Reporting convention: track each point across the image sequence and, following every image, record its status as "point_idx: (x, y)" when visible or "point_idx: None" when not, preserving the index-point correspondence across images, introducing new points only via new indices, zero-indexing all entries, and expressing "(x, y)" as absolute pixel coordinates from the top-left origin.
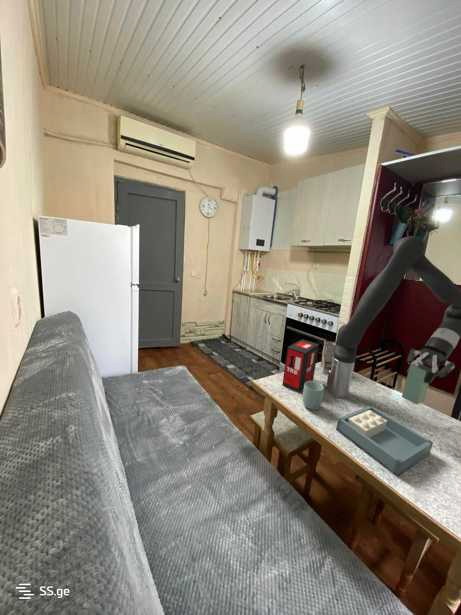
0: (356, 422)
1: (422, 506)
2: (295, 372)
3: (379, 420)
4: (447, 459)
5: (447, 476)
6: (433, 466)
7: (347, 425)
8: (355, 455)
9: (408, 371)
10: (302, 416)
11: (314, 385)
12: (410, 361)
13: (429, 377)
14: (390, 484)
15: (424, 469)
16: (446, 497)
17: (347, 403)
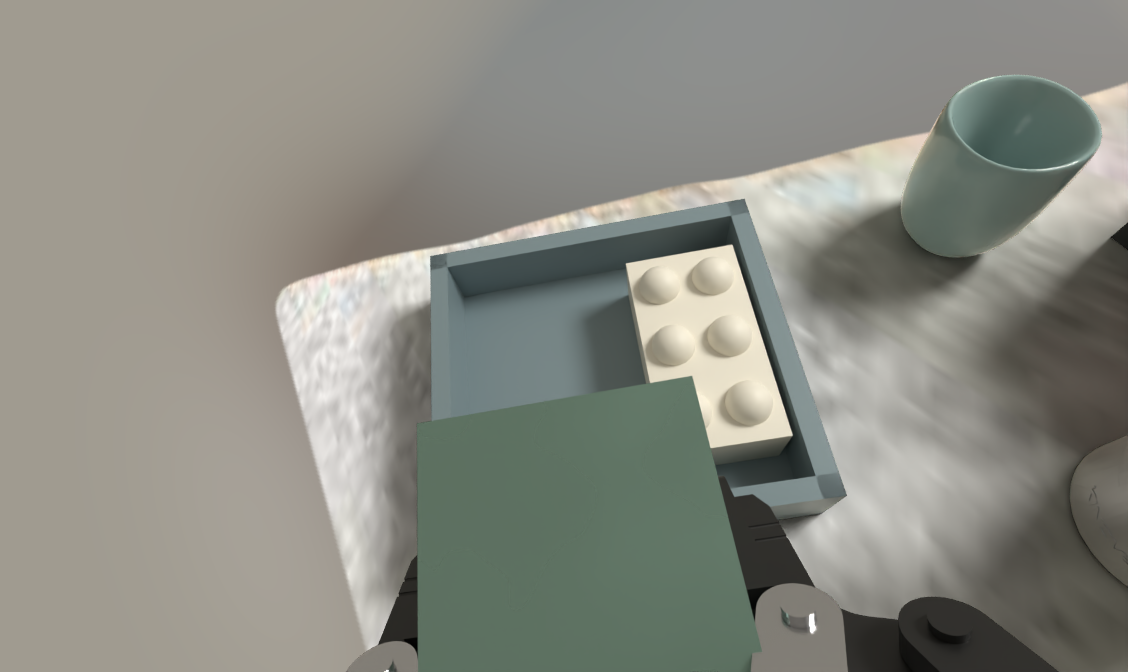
0: (693, 263)
1: (353, 277)
2: None
3: None
4: None
5: (357, 504)
6: (413, 501)
7: (686, 211)
8: (582, 225)
9: (724, 482)
10: (855, 155)
11: (1061, 163)
12: (898, 633)
13: None
14: (444, 248)
15: None
16: (323, 387)
17: (986, 483)
